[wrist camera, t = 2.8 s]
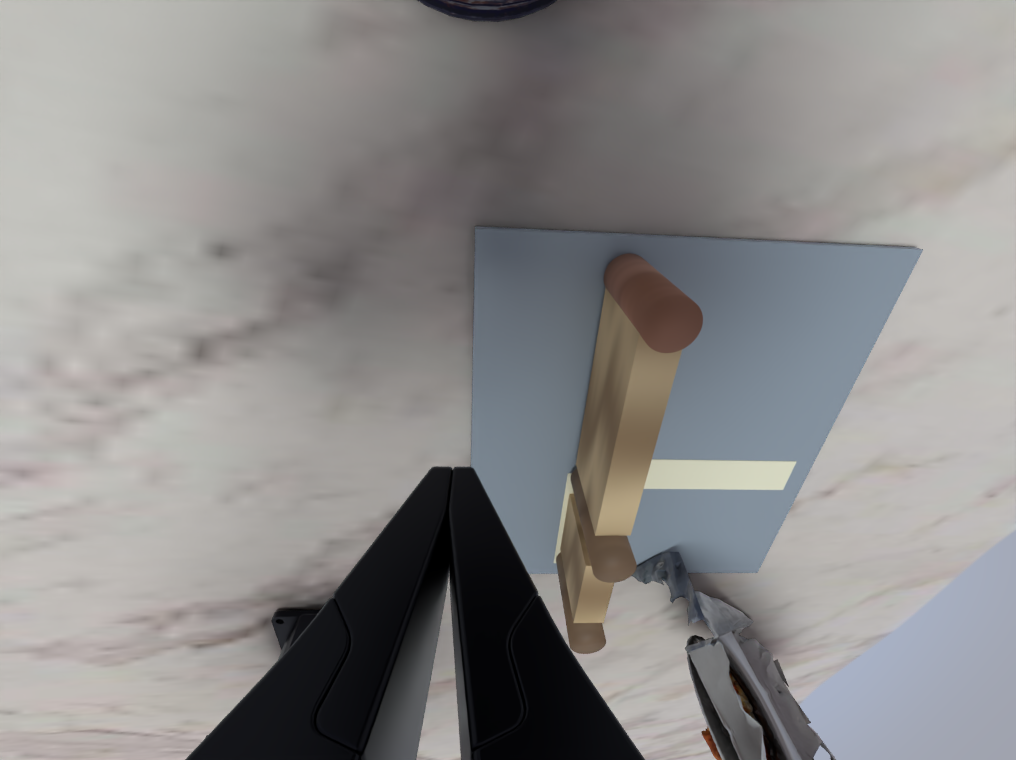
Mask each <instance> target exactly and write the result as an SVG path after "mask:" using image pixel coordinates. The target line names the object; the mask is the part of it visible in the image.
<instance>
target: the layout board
mask: <svg viewBox="0 0 1016 760" xmlns="http://www.w3.org/2000/svg"><path fill="white" fill-rule="evenodd" d="M922 251H923V249H919V248H916V247H900V246H879V245H858V244H837V243H816V242H795V241H774V240H753V239H732V238H711V237H690V236H670V235H649V234H628V233H607V232H586V231H565V230H544V229H523V228H502V227H481V226H475V263H474V321H473V379H472V437H471V467H472V468H474V470H475V471H476V473H477V475H478V477H479V479H480V481H481V483H482V485H483V487H484V489H485V491H486V493H487V495H488V496H489V498H490V500H491V502H492V504H493V506H494V508H495V510H496V512H497V514H498V516H499V518H500V520H501V522H502V524H503V525H504V527H505V529H506V531H507V533H508V535H509V537H510V539H511V541H512V543H513V545H514V547H515V549H516V551H517V552H518V554H519V556H520V558H521V560H522V562H523V564H524V566H525V568H526V570H527V572H528V574H558V570H557V564H556V557H557V555H558V554H559V553H560V552H561V550H560V547H561V541H562V535H563V529H564V523H565V517H566V511H567V505H568V499H569V494H574V492H573V488H572V484H571V475H572V473H573V471H574V470H575V469H576V468H577V466H576V460H577V454H578V448H579V442H580V436H581V430H582V424H583V419H584V413H585V407H586V401H587V395H588V389H589V383H590V377H591V371H592V365H593V359H594V354H595V348H596V342H597V336H598V330H599V324H600V318H601V312H602V306H603V300H604V294H605V288H606V287H605V285H604V273H605V270H606V268H607V266H608V265H609V263H610V262H611V261H612V260H613V259H615V258H616V257H618V256H620V255H623V254H628V253H631V254H636V255H639V256H640V257H642V258H643V259H644V260H645V261H647V262H648V263H649V264H650V265H651V266H653V267H654V268H655V269H656V270H657V271H658V272H660V273H661V274H662V275H663V276H664V277H666V278H667V279H668V280H669V281H670V282H671V283H673V284H674V285H675V286H676V287H677V288H679V289H680V290H681V291H682V292H683V293H684V294H686V295H687V296H688V297H689V298H690V299H692V300H693V301H694V302H695V303H696V304H697V305H698V306H699V307H700V309H701V311H702V315H703V325H702V328H701V331H700V333H699V335H698V336H697V338H696V339H695V340H694V341H693V342H692V343H691V344H690V345H689V346H687V347H686V348H684V349H682V352H681V356H680V360H679V363H678V367H677V370H676V374H675V378H674V381H673V385H672V388H671V392H670V396H669V399H668V403H667V406H666V410H665V414H664V417H663V421H662V424H661V428H660V432H659V435H658V439H657V443H656V446H655V450H654V453H653V457H652V461H651V464H650V468H649V471H648V475H647V479H646V482H645V486H644V489H643V493H642V497H641V500H640V504H639V507H638V511H637V515H636V518H635V522H634V525H633V529H632V533H631V536H627V537H628V540H629V543H630V546H631V549H632V552H633V555H634V558H635V561H636V564H637V567H638V566H640V565H642V564H643V563H645V562H647V561H648V560H650V559H651V558H653V557H655V556H657V555H660V554H663V553H666V552H679V553H680V555H681V557H682V559H683V562H684V565H685V568H686V570H687V573H757V572H758V570H759V568H760V566H761V565H762V563H763V561H764V559H765V557H766V555H767V553H768V551H769V549H770V547H771V545H772V543H773V541H774V539H775V537H776V535H777V533H778V531H779V529H780V528H781V526H782V524H783V522H784V520H785V518H786V516H787V514H788V512H789V510H790V508H791V506H792V504H793V502H794V500H795V498H796V496H797V494H798V492H799V491H800V489H801V487H802V485H803V483H804V481H805V479H806V477H807V475H808V473H809V471H810V469H811V467H812V465H813V463H814V461H815V459H816V457H817V455H818V454H819V452H820V450H821V448H822V446H823V444H824V442H825V440H826V438H827V436H828V434H829V432H830V430H831V428H832V426H833V424H834V422H835V420H836V418H837V416H838V415H839V413H840V411H841V409H842V407H843V405H844V403H845V401H846V399H847V397H848V395H849V393H850V391H851V389H852V387H853V385H854V383H855V381H856V379H857V378H858V376H859V374H860V372H861V370H862V368H863V366H864V364H865V362H866V360H867V358H868V356H869V354H870V352H871V350H872V348H873V346H874V344H875V342H876V341H877V339H878V337H879V335H880V333H881V331H882V329H883V327H884V325H885V323H886V321H887V319H888V317H889V315H890V313H891V311H892V309H893V307H894V305H895V304H896V302H897V300H898V298H899V296H900V294H901V292H902V290H903V288H904V286H905V284H906V282H907V280H908V278H909V276H910V274H911V272H912V270H913V268H914V266H915V265H916V263H917V261H918V259H919V257H920V255H921V253H922ZM637 567H636V568H637Z"/></svg>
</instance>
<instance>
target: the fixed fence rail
mask: <svg viewBox="0 0 1016 760" xmlns="http://www.w3.org/2000/svg"><path fill="white" fill-rule="evenodd" d="M560 550H561V552H560V553H559V554H558V555H557V557H556V564H557V570H558V576H559V582H560V588H561V595H562V601H563V607H564V613H565V619H566V625H567V631H568V638H569V644H570V648H571V649H572V650H573V651H574V652H577V653H581V654H589V653H594V652H597V651H599V650H601V649H602V648H603V647H604V646H605V644H606V639H605V635H604V630H603V626H602V623H603V622H604V619H605V615H606V611H607V608H608V604H609V600H610V597H611V593H612V589H613V586H614V583H607V582H603V581H600V580H598V579H597V578H596V577H595V576H594V574H593V571H592V567H591V563H590V559H589V554H588V550H587V546H586V542H585V538H584V534H583V530H582V525H581V521H580V517H579V513H578V509H577V505H576V500H575V496H574V494H569V499H568V505H567V511H566V517H565V523H564V529H563V535H562V541H561V547H560Z"/></svg>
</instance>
